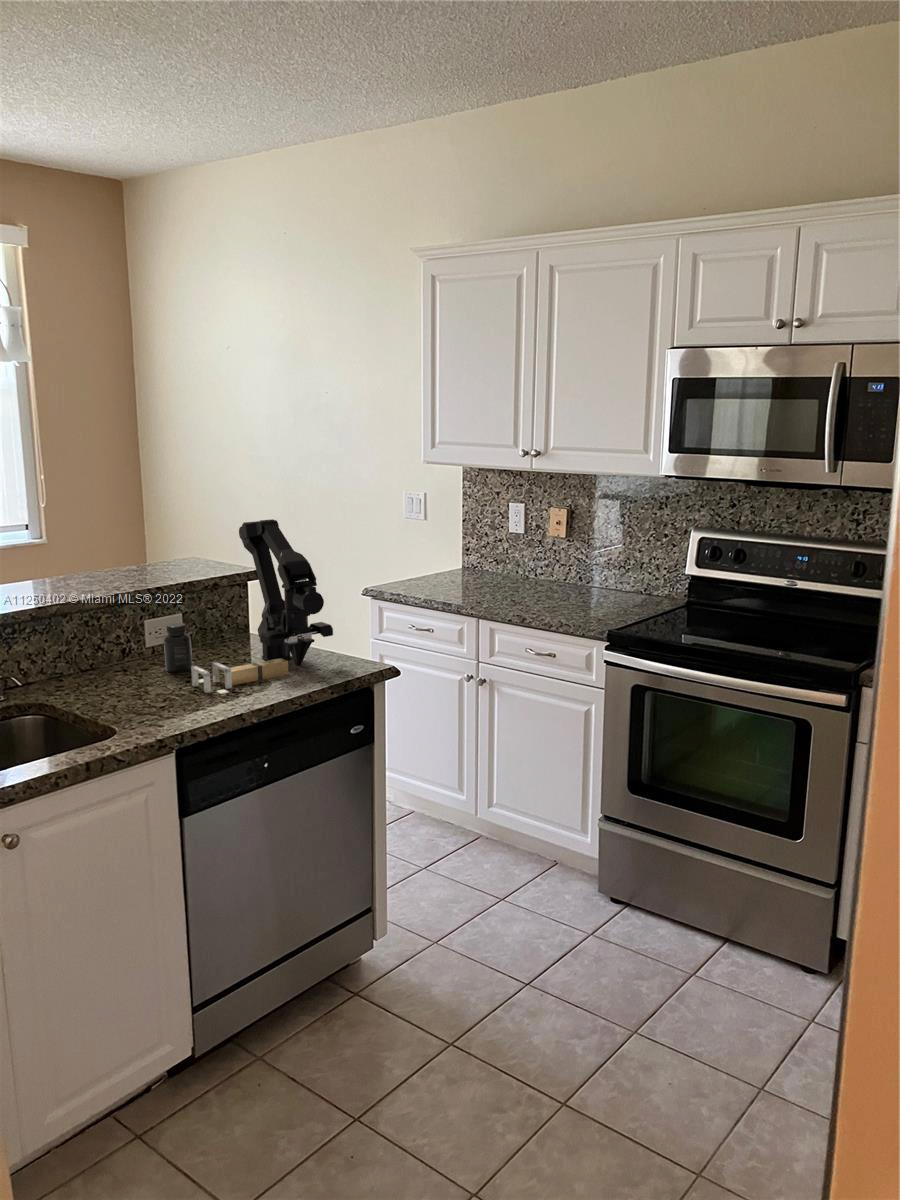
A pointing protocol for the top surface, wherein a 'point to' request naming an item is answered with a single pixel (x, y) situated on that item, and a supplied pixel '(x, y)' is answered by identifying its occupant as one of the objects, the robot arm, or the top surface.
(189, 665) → the supplement bottle
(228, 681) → the collar
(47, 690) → the top surface
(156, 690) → the top surface
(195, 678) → the collar
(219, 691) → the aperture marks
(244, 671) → the banded wooden block
